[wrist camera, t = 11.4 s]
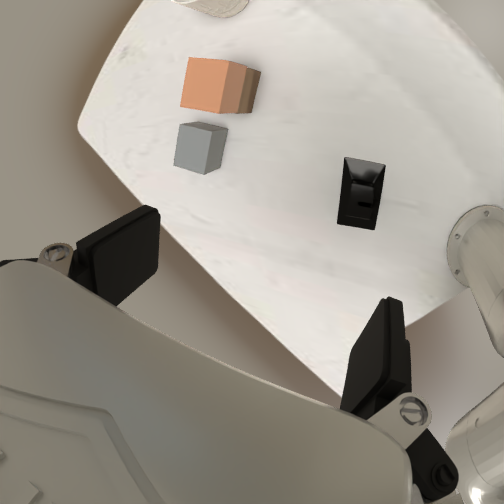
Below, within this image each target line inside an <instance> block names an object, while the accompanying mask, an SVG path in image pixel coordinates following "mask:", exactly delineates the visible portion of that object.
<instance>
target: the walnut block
mask: <svg viewBox="0 0 504 504" xmlns="http://www.w3.org/2000/svg"><path fill="white" fill-rule="evenodd" d="M260 75H261V72H259V71H256V70H253V69H250V68H247V69H246V74H245V78H244V83H243V88H242V93H241V97H240V102H239V107H238V112H237V114H238V113H251V112H252V108H253V104H254V100H255V95H256V91H257V87H258V83H259V79H260Z"/></svg>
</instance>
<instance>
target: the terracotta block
mask: <svg viewBox="0 0 504 504" xmlns="http://www.w3.org/2000/svg"><path fill="white" fill-rule="evenodd" d="M246 69H247V66H244V65H241V64H238V63H235V62H231V61H226V60H217V59H206V58H193V57H189V60H188V65H187V70H186V75H185V81H184V86H183V92H182V98H181V104H180V107H184V108H190V109H196V110H202V111H208V112H213V113H218V114H221V113H237V112H238V107H239V102H240V97H241V93H242V88H243V83H244V78H245V74H246Z"/></svg>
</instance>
